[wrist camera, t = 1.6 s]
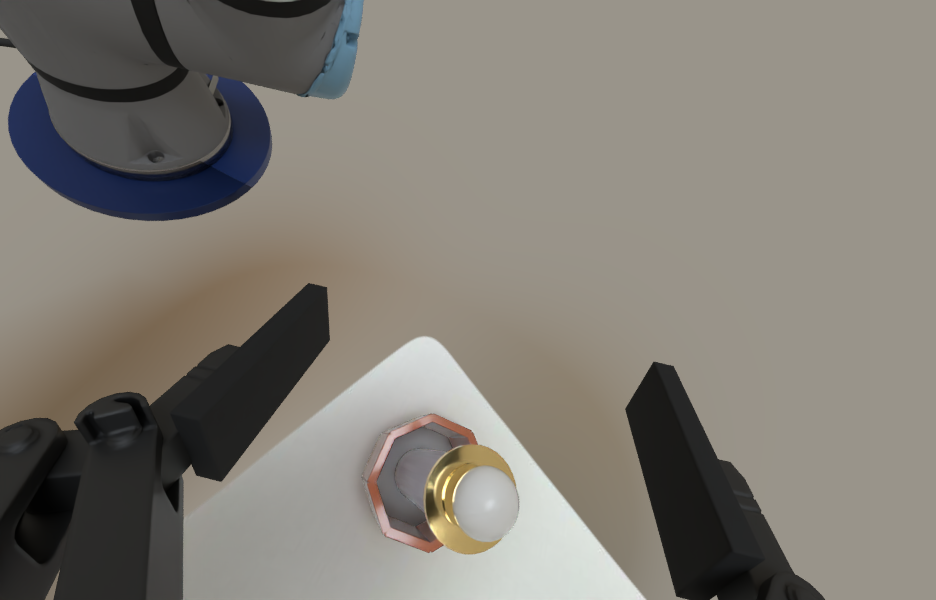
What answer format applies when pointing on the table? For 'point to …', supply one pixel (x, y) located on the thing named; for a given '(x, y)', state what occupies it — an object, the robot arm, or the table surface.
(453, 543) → the perfume bottle
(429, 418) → the holder
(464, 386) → the table surface
